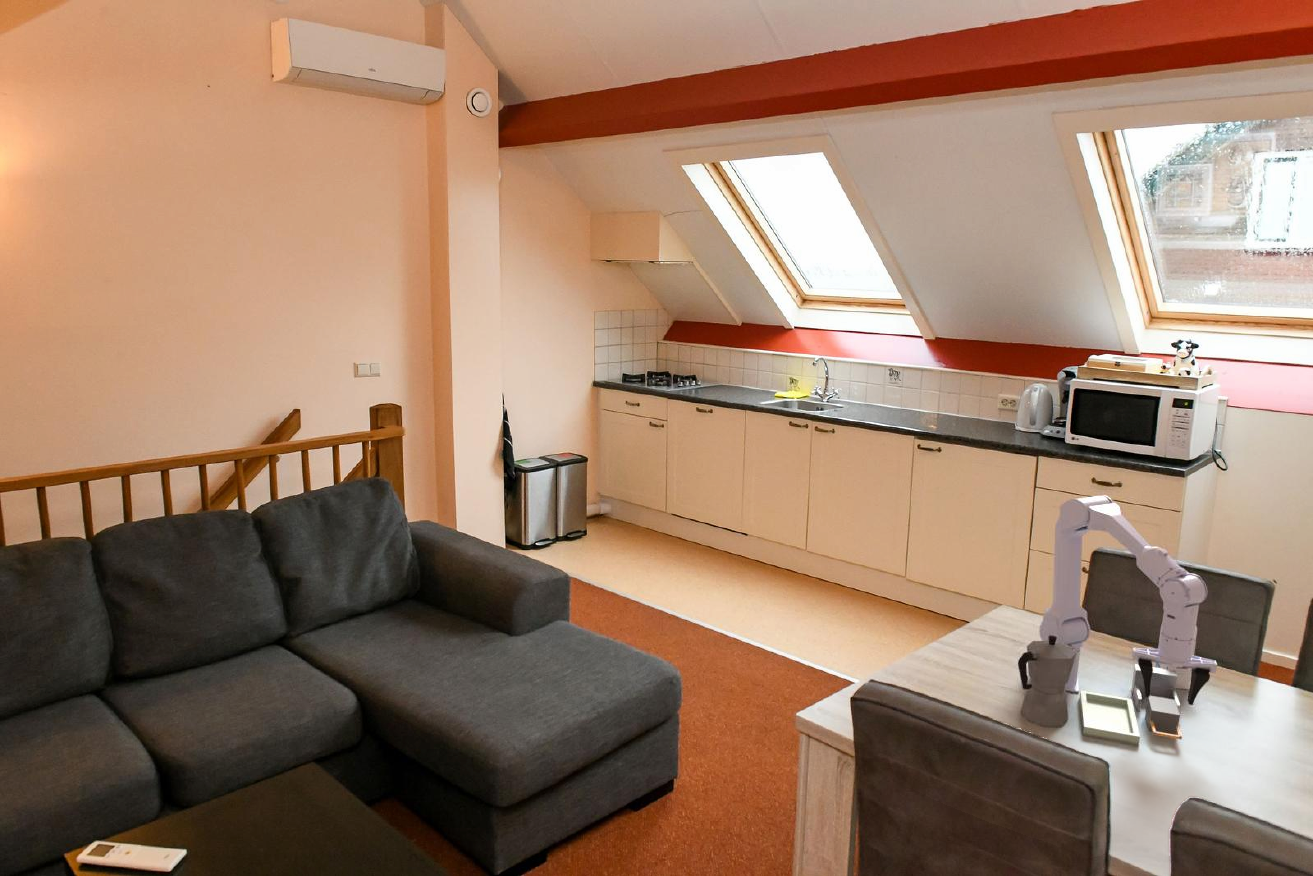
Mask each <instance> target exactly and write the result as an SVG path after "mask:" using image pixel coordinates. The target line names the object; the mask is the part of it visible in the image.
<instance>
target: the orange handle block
mask: <svg viewBox="0 0 1313 876" xmlns="http://www.w3.org/2000/svg"><path fill="white" fill-rule="evenodd" d="M1144 716H1145V717H1144V719H1145V722H1146V725H1147V726H1146V727H1147V731H1148V733H1149V732H1150V734H1152V735H1154V736H1155V735H1156V736H1159V737H1160V736H1161V737H1166V738H1171V739H1176V740H1182V739H1183V736H1182V732H1181V730H1180V726H1179V725H1180V724H1179V723H1180V718H1181V717H1180V716H1181V715H1180V712H1179V711H1178V708H1177V705H1176V701H1175V700H1173V699H1167V698H1161V697H1155V696H1149V697H1148V698H1147V700H1146V707H1145V715H1144Z"/></svg>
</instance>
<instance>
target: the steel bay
mask: <svg viewBox="0 0 1313 876" xmlns="http://www.w3.org/2000/svg"><path fill="white" fill-rule="evenodd" d="M1155 667H1156V666H1155ZM1155 667H1154V666H1152V668H1153V673H1152V677H1151V683H1150V695H1149V696H1155V697H1161V698H1167V699H1173V700H1175V701H1176V705H1177V708H1178V711H1179V713H1180V711H1181V704H1180V700H1179V697H1178V695H1177V691H1176V689H1177V688H1176V682H1177V674H1176V671H1174V670H1167V669H1161V668H1155ZM1131 693H1132V696H1133V700H1134V705H1135V709H1136V712H1138V713H1140V712H1141V707H1142V700H1143V699H1142V697H1143V698H1147V699H1148V697H1145V694H1144V680H1143V676H1142V673H1141V670H1140V667H1139V664H1136V663H1135V664H1134V666H1133V673H1132V681H1131Z"/></svg>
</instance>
